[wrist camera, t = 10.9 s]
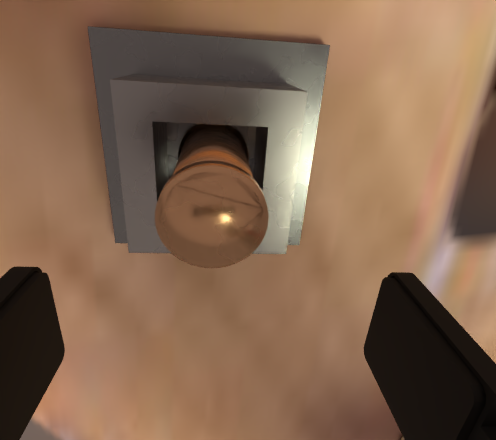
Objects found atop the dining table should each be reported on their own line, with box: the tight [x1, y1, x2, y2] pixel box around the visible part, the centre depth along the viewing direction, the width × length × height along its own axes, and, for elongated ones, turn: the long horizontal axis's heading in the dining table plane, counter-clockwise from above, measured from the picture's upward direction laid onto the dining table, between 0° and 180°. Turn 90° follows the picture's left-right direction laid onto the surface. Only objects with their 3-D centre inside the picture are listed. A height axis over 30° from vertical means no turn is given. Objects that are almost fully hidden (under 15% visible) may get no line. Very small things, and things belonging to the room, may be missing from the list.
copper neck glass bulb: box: [155, 124, 269, 268], centre depth 18 cm, size 5×5×10 cm
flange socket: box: [88, 26, 330, 254], centre depth 21 cm, size 14×14×6 cm
